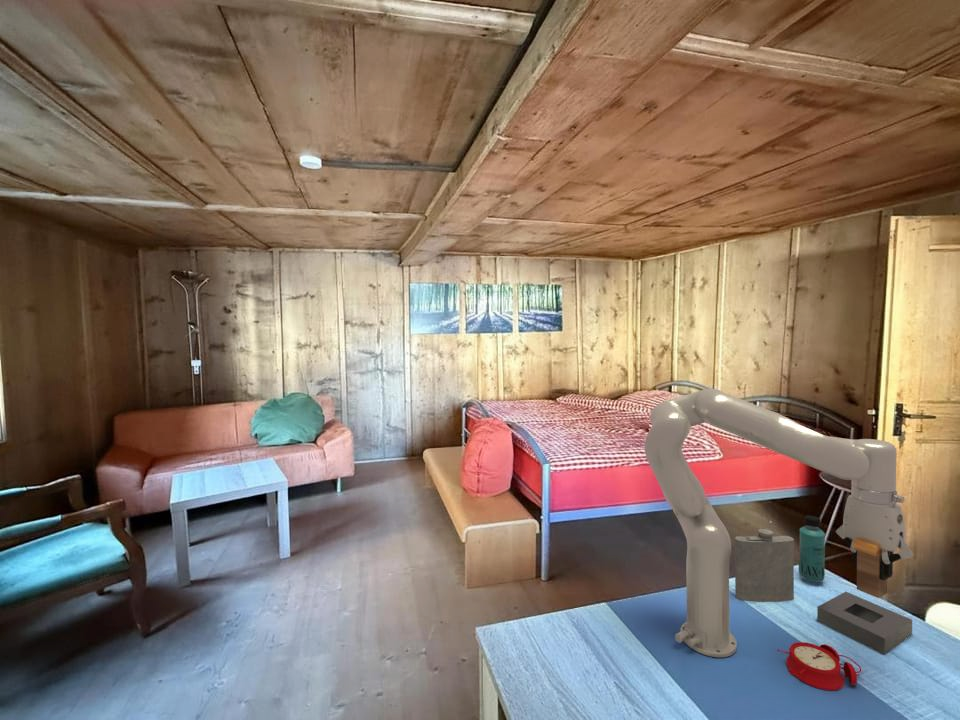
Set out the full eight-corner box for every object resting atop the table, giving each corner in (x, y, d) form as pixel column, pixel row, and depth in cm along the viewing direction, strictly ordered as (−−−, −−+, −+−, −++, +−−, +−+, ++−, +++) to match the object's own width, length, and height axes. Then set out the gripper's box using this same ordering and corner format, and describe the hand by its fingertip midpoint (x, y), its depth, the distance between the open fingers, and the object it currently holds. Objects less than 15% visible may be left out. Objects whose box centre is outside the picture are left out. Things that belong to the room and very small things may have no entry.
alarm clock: (770, 642, 105) (833, 626, 104) (776, 667, 105) (838, 651, 105) (802, 676, 94) (871, 659, 94) (809, 703, 94) (878, 686, 94)
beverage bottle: (793, 578, 137) (793, 514, 136) (808, 573, 139) (809, 511, 138) (814, 589, 131) (815, 523, 129) (830, 584, 132) (831, 519, 131)
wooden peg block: (874, 600, 98) (875, 547, 97) (853, 590, 101) (853, 539, 101) (890, 591, 101) (891, 539, 100) (869, 582, 104) (869, 533, 104)
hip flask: (789, 593, 129) (789, 527, 128) (798, 602, 125) (798, 533, 124) (733, 594, 130) (732, 527, 128) (740, 602, 125) (740, 534, 124)
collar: (884, 654, 104) (884, 638, 104) (817, 621, 116) (817, 606, 116) (912, 635, 110) (912, 619, 110) (845, 605, 123) (845, 591, 122)
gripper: (930, 503, 94) (929, 587, 95) (839, 481, 109) (838, 553, 110) (913, 510, 91) (912, 597, 92) (821, 487, 106) (821, 561, 107)
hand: (872, 572), depth 101 cm, fingers closed on wooden peg block, 4 cm apart
